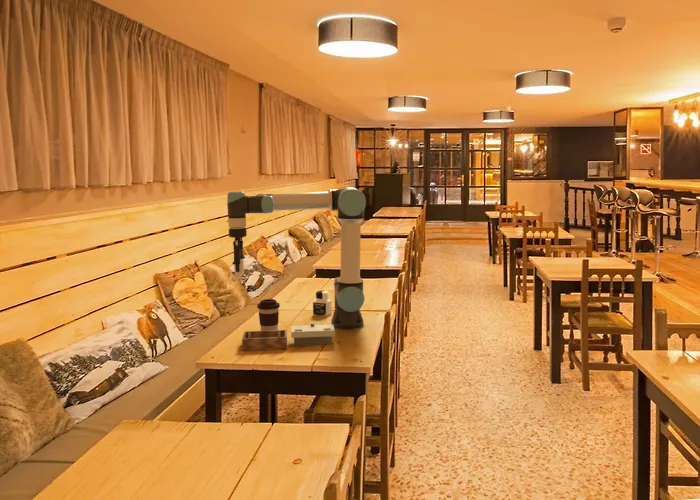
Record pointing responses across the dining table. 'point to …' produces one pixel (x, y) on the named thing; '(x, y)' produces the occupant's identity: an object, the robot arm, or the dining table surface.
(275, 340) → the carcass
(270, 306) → the coffee cup
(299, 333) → the door
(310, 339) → the block
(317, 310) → the medicine bottle
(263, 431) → the dining table surface
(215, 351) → the dining table surface
